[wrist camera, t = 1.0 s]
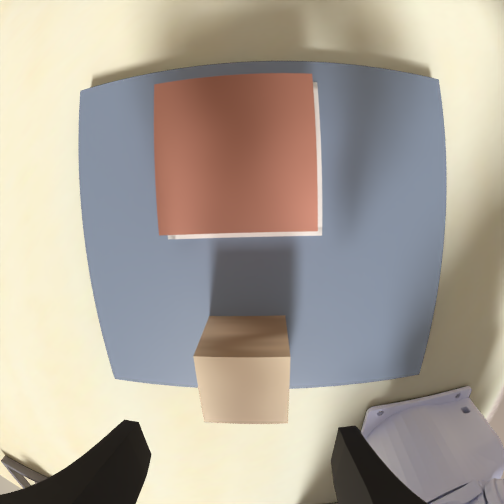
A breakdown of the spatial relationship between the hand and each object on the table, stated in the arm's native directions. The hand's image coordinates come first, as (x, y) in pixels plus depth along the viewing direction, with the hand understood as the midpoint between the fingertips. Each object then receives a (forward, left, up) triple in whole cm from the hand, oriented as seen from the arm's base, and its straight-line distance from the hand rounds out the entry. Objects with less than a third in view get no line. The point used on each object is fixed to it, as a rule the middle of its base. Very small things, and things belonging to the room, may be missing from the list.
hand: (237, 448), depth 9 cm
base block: (0, -10, -7) cm, 12 cm away
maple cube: (0, 0, -7) cm, 7 cm away
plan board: (-1, -6, -8) cm, 10 cm away
